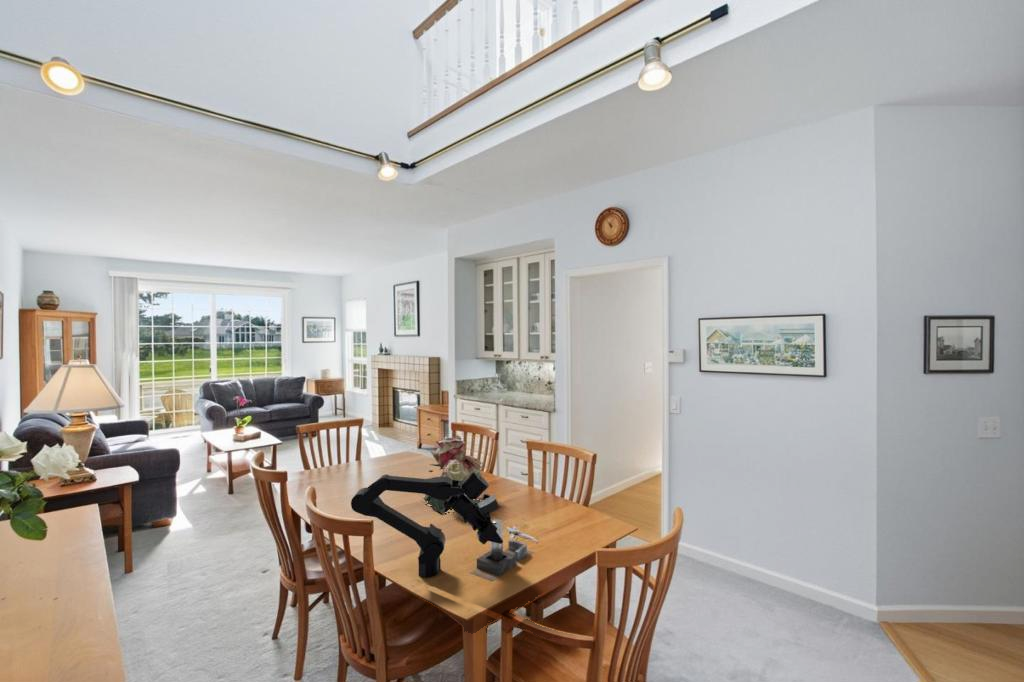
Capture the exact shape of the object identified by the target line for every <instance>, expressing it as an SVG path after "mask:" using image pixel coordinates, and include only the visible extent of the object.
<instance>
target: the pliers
mask: <svg viewBox="0 0 1024 682" xmlns="http://www.w3.org/2000/svg"><path fill="white" fill-rule="evenodd" d="M505 530H507V531H506V532H507V533H509V534H510V536H509V538H510V539H511V540H517V539H518V537H517V536H519V535H520V536H519V538H520V537H521V539H529V538H530V540H531V539H532V541H533V542H534V543H536V544H537V542H538V540H537V539H536V538H535V537H533V536H531V535H528V534H526V533H523V532H521V531H520V530H519V529H518V528H517V527H516V525H512V528H511V527H509V526H506V527H505ZM510 532H511V533H510ZM514 534H515V535H517V536H516V537H515V535H514Z"/></svg>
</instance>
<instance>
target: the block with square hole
mask: <svg viewBox="0 0 1024 682" xmlns="http://www.w3.org/2000/svg"><path fill="white" fill-rule="evenodd" d="M534 553H535V552H534V551H530V550H528V546H527V544H526V542H524V541H523V542H522V541H517V540H516V539H512V538H510V539H509V540H508V547H507V548H506V549H505V550H503V560H501V561H500V562H495V561H492V560H490V550H489V551H487V552H485V553H484V554H482V555H481V556H478V557H477V558H476V568H475V569H474V570H471V571H470V572H469V574H471V575H474V576H476V577H480V578H482V579H484V580H487V581H490V582H494V581H496V579H498V578H500V577H501V576H503V575H504V574H506V573H507V572H508V571H510V570H511V569H512V568H514V567H516V566H517V565H518V564H520V563H522V561H524V560H525V559H527V558H528V557H529V556H531V555H532V554H534Z"/></svg>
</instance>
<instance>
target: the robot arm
mask: <svg viewBox="0 0 1024 682" xmlns="http://www.w3.org/2000/svg"><path fill="white" fill-rule="evenodd" d="M489 487H490V485H489V483H488V481H487V480H486V478H484V477H483V476H482V475H481V476H480V475H479V474H477V473H475V472H474V471H473V472H472V473H471V474H470V476H469V477H468V478H467V479H466V480H465V481H464V482H463V481H459V480H452V479H451V478H450V477H447V476H443V477H440V476H434V477H429V478H419V477H409V476H408V477H407V476H398V475H389V474H383V475H381V476H380V477H379V478H378V479H376V480H375V481H374V482H373V483H371V484H370V485H369V486H368V487H362V488H360V489H359V490H358V491H357V492H356V493H355V495H354V496H353V497H352V498H351V500H350V507H351V510H352V511H354V512H355V513H356V514H360V515H362V516H365V517H372V518H376V519H378V520H380V521H381V522H383V523H385V524H387V525H388V526H390V527H391V528H393V529H395V530H396V531H398V532H400V533H401V534H403V535H404V536H407V537H408V538H410V539H412V540H413V541H415V543H416V545H418V547H419V549H420V550H419V552H418V553H419V554H418V557H417V559H418V576H419V577H420V578H424V579H428V578H433V577H436V576H437V575H439V572H440V571H441V569H442V568H441V565H442V564H441V558H440V557H441V555H442V553H443V552H444V549H445V545H446V536H445V533H444V532H443V531H442V528H439V527H437V526H435V525H434V524H433V523H430V525H429V526H424V525H421V524H420V523H418V522H416V521H414V520H413V519H411V518H409V517H407V515H405V514H403V513H401V512H399V511H397V510H396V509H394V508H392V507H391V506H389V505H388V504H386V503H385V502H384V501H383V500H382V499H381V497H380V496H381V495H382V494H383V493H384V492H385V491H388V492H389V491H391V492H402V493H413V494H423V495H424V496H425V495H428V496H430V497H432V498H435V499H439V500H444V501H443V504H444V512H447V511H448V510H449V508H450V509H453V510H454V511H455V512H454V513H455V514H457V515H458V516H459V517H460V518H461V519H462V521H463V522H464V523H467V524H468V525H469V526H471V528H472V530H473V531H474V532H476V538H477V540H478V541H479V542H480V543H481V544H482V545H486V544H487V542H490V541H491V542H495V543H499V544H502V543H503V544H504V539H503V540H502V538H501V537H500V536H499V535H498V533H497V532H496V531H497V527H496V525H495V523H494V522H492V521H491V520H492V518H491V515H490V514H492V513H493V512H495V511H497V510H499V509H500V508H501V507H500V505H499V503H498V500H497V498H496V497H495V495H492V494H489V493H487V492H485V491H486V490H487V489H488V488H489ZM484 492H485V493H484ZM481 495H482V497H481V499H482V500H481V502H480V503H478V504H477V503H476V502H474V501H473V502H472V501H471V500H470V499H472V500H473V499H477V498H478V499H479V497H480V496H481ZM447 499H448V500H447Z"/></svg>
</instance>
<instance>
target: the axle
mask: <svg viewBox="0 0 1024 682" xmlns="http://www.w3.org/2000/svg"><path fill="white" fill-rule="evenodd" d="M491 521H492V522H494V523H495V525H496V527H497V531H496V532H497V533H498V535H499V536H500V537H501V538H502V540H503V541H504V539H503V537H504V535H503V531H504V530H503V528H504V527H503V525H504V524H503V520H501V519H499V518H496V519H491ZM489 543H490V549H489V551H490V560H492V561H495V562H500V561H501V560H503V551H504V542H503V543H502V544H499V543H495V542H491V541H489Z"/></svg>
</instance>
